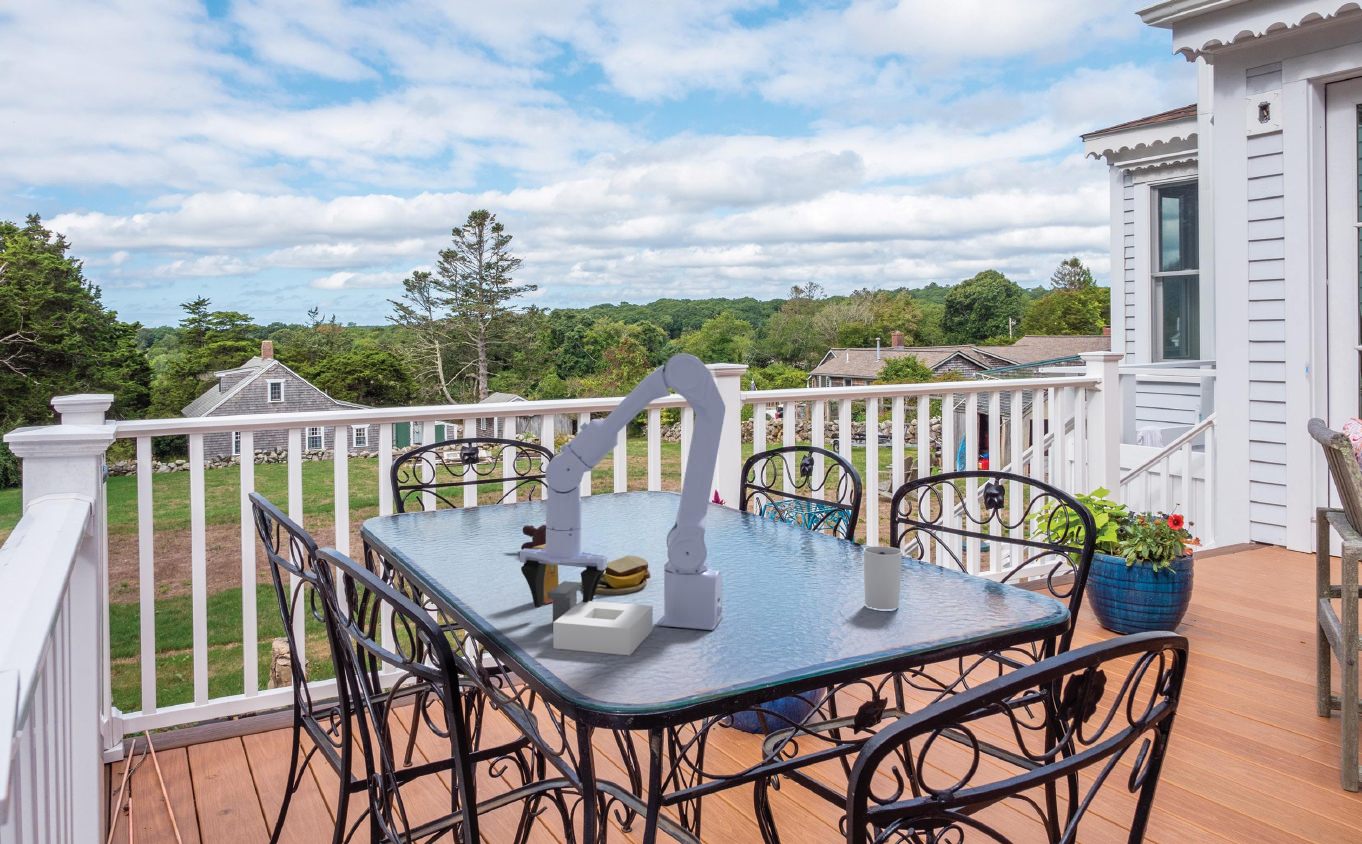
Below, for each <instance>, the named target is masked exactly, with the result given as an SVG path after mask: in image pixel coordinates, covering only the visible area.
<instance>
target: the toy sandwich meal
mask: <svg viewBox="0 0 1362 844" xmlns="http://www.w3.org/2000/svg"><path fill="white" fill-rule="evenodd" d="M648 569H649V563H648V561H647V560H646V559H645V558H642V557H640V556H636V555H625V556H623V557H620V558H618V559H617V558H616V559H614V560H611V561H607V568H606V569H605V571H604V573H603V575H602V577H601V579H600V581H599V583H598V586H597V588H596V591H595V594H600V595H601V594H602V595H625V594H629V593H635V592H637V591H640V590H641V589H643V588H644V586H646V585H647V583H648V581H647V580H648V579H650V578H651V572H650V571H649V570H648ZM580 582H581V586H582V580H581V581H580Z"/></svg>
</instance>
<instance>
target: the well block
mask: <svg viewBox="0 0 1362 844" xmlns="http://www.w3.org/2000/svg"><path fill="white" fill-rule="evenodd" d="M653 613H654V611H653V605H643V604H632V603H621V602H619V603H618V602H608V601H607V602H606V601H594V600H593V601H588V602H587V603H586V602H583V599H582V600H580V602H578V603H577V605H575V606H574V607H573V608H571V609H570V610H569V611H567V612H566V613H565V614H563V615H562V616H561V617H560V618H558V619H557V620H556V621H554V622H553V621H552V626H553V628H552V629H553V632H552V633H553V641H552V642H553V649H555V650H556V649H557V650H567V651H568V650H569V651H577V652H578V651H579V652H588V653H589V652H590V653H600V654H610V655H611V654H612V655H621V656H631V655H632V653H633V652H635V650H636V649H637V648H638V647H639V646H640V645H641V644H642V643H643V641H645V639H646V638H647V637H649V635H650V634H651V633H652V632H653V625H654V624H653V619H654V618H653Z"/></svg>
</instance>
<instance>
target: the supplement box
mask: <svg viewBox="0 0 1362 844" xmlns="http://www.w3.org/2000/svg"><path fill="white" fill-rule="evenodd" d="M532 549H546V544H543V545H540V546H536V547H533V548H532ZM559 584H560V582H559V565H554V564H546V569H545V576H544V601H543V605H544V604H545V605H547V604H550V603H553V599H549V598H548V592H549V591H550V590H552V589H553V588H555V587H556V586H558V585H559Z"/></svg>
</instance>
